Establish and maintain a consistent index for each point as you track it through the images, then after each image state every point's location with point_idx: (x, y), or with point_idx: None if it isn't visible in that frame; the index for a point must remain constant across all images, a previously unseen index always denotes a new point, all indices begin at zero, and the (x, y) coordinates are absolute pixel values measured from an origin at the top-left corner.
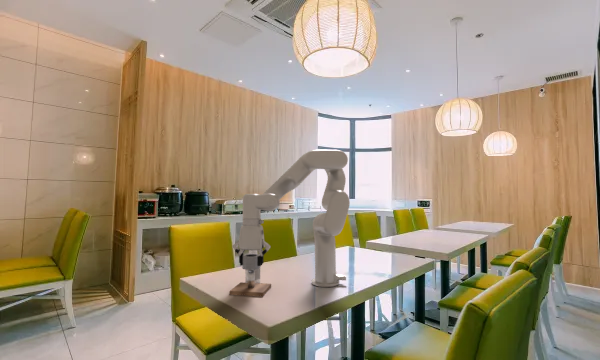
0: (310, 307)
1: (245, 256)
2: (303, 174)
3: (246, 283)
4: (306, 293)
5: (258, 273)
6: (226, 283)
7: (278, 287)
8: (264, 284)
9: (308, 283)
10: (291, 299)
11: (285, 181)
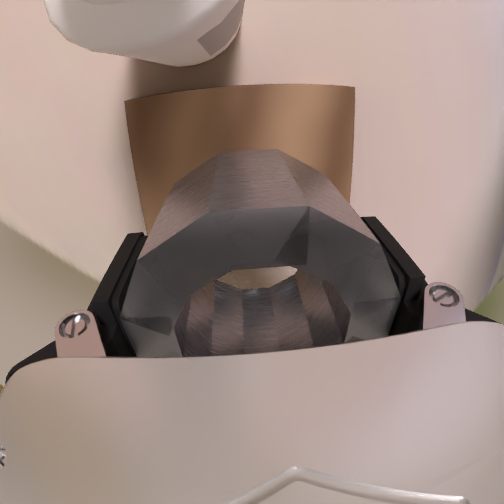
0: (479, 295)
1: None
2: None
3: (177, 112)
4: (497, 176)
5: (239, 18)
6: (34, 91)
7: (388, 88)
8: (315, 108)
9: (499, 33)
10: (447, 250)
11: None
